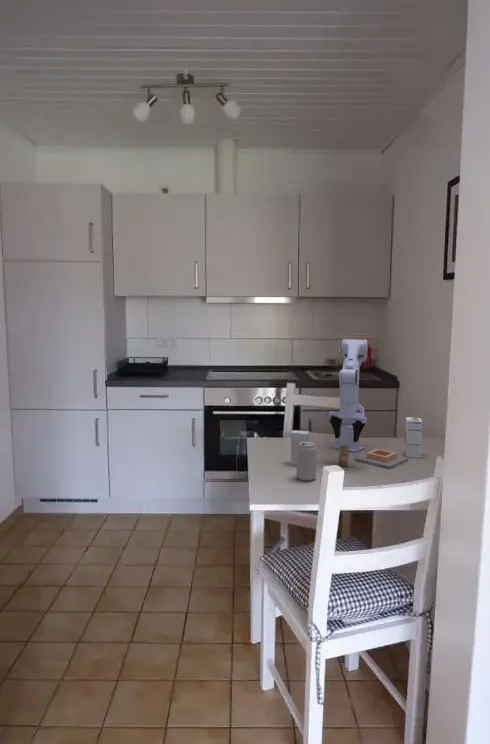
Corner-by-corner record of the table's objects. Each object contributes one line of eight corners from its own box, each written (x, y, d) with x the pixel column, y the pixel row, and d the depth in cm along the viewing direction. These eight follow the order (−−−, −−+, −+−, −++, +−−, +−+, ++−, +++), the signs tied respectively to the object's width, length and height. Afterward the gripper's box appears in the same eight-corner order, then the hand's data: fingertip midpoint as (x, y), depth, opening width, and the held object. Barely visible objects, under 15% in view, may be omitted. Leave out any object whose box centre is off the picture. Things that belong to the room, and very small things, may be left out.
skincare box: (309, 463, 187) (310, 431, 185) (306, 466, 183) (307, 434, 181) (293, 461, 189) (293, 429, 187) (290, 464, 185) (290, 432, 183)
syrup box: (421, 458, 195) (423, 420, 193) (405, 457, 196) (407, 419, 194) (419, 453, 200) (421, 417, 198) (403, 452, 202) (405, 416, 200)
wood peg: (337, 465, 185) (337, 446, 184) (341, 463, 187) (342, 444, 186) (344, 467, 182) (345, 448, 182) (349, 465, 185) (350, 446, 184)
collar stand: (355, 460, 190) (355, 452, 190) (374, 453, 201) (374, 445, 200) (389, 469, 181) (390, 460, 181) (407, 460, 191) (408, 453, 191)
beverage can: (294, 475, 173) (295, 441, 171) (313, 475, 174) (314, 440, 172) (298, 482, 167) (299, 446, 165) (317, 481, 167) (318, 445, 166)
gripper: (324, 401, 184) (323, 437, 186) (360, 406, 174) (358, 445, 176) (335, 398, 189) (334, 434, 191) (370, 404, 179) (368, 441, 181)
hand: (346, 439), depth 184 cm, fingers open, 7 cm apart
